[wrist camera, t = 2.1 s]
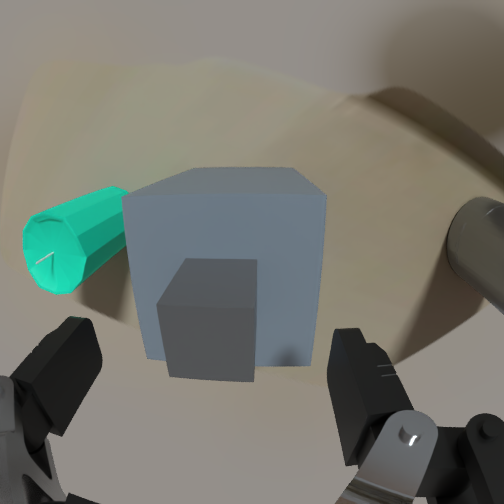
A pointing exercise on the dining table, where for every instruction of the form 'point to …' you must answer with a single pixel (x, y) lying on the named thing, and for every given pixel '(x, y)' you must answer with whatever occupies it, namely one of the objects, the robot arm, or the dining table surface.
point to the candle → (74, 239)
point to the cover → (226, 269)
